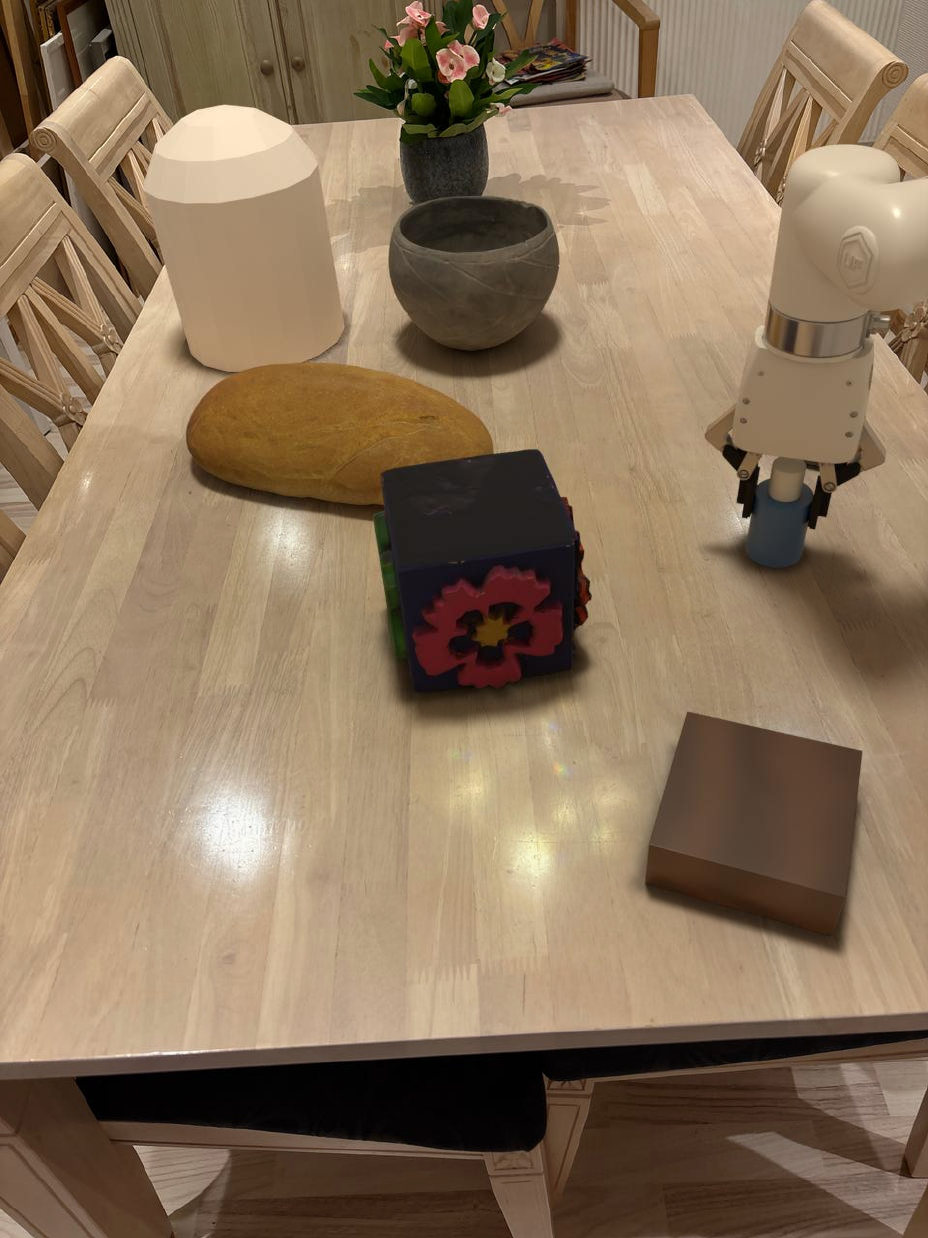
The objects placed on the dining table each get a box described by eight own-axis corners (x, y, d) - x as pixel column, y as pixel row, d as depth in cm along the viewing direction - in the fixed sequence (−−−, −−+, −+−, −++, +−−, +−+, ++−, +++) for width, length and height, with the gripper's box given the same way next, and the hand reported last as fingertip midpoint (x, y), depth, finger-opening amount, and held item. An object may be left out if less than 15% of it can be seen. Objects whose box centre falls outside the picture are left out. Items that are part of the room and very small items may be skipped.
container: (301, 381, 120) (252, 138, 101) (157, 362, 126) (85, 131, 107) (371, 307, 134) (339, 83, 115) (238, 294, 140) (187, 79, 122)
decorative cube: (600, 677, 79) (605, 543, 70) (403, 711, 78) (381, 579, 69) (556, 561, 91) (555, 432, 81) (383, 589, 89) (361, 461, 80)
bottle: (804, 539, 91) (823, 452, 84) (798, 572, 87) (816, 484, 81) (750, 530, 92) (764, 444, 86) (741, 562, 89) (755, 475, 82)
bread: (466, 535, 95) (459, 448, 88) (162, 485, 105) (135, 403, 98) (522, 437, 107) (519, 353, 100) (246, 400, 117) (226, 322, 111)
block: (849, 791, 69) (862, 750, 66) (831, 936, 61) (845, 898, 58) (682, 751, 73) (687, 711, 70) (644, 883, 65) (648, 844, 62)
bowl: (528, 386, 115) (525, 261, 105) (369, 364, 122) (352, 245, 112) (580, 309, 129) (581, 193, 119) (434, 294, 136) (424, 183, 126)
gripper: (936, 313, 74) (884, 506, 87) (713, 293, 80) (693, 477, 92) (933, 359, 69) (878, 557, 82) (694, 334, 75) (676, 523, 87)
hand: (780, 513), depth 87 cm, fingers closed on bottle, 5 cm apart
